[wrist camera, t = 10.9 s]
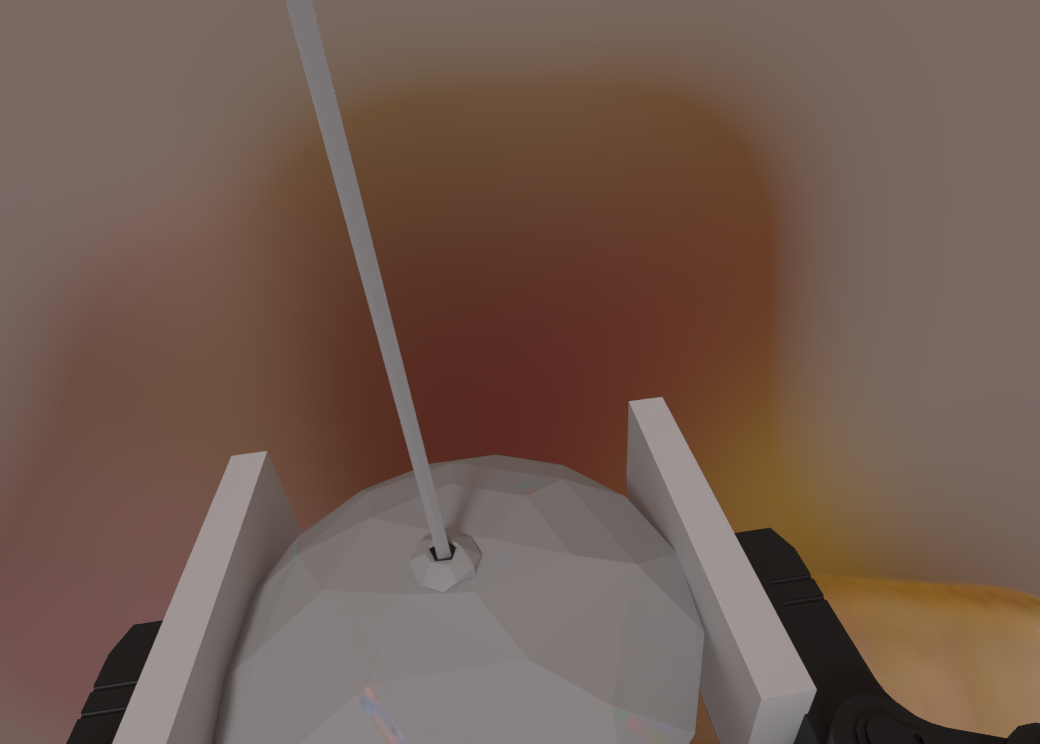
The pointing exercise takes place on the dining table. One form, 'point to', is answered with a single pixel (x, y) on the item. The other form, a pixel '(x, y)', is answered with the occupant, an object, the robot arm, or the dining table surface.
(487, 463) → the french press
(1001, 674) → the dining table surface
